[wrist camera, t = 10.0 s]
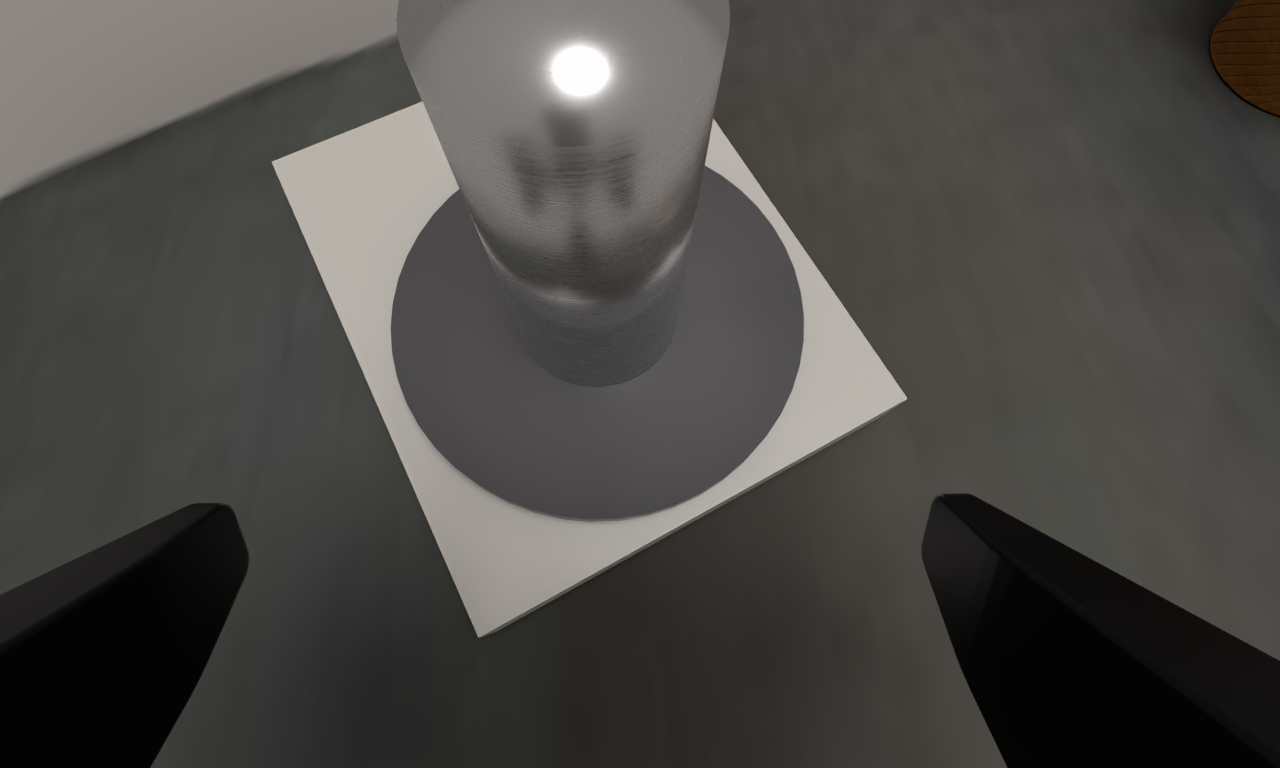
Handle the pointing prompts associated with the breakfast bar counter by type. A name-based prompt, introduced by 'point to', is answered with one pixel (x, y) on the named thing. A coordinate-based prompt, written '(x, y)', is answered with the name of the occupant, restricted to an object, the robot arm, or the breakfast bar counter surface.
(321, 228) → the kitchen scale
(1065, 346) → the breakfast bar counter surface
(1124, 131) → the breakfast bar counter surface
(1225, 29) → the disposable coffee cup
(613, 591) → the breakfast bar counter surface
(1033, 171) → the breakfast bar counter surface
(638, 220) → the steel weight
